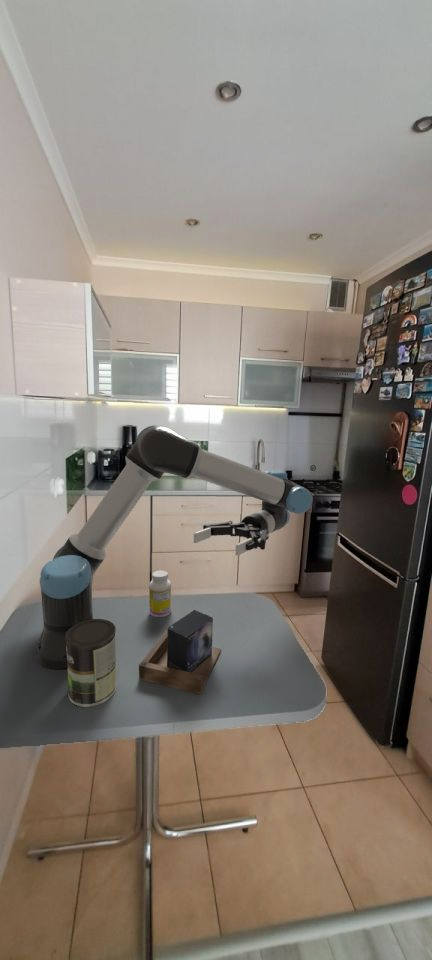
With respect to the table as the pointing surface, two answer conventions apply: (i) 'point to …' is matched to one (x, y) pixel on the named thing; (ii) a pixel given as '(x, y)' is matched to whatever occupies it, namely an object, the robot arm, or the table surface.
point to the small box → (189, 641)
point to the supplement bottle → (160, 594)
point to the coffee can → (91, 662)
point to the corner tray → (159, 673)
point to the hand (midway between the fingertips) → (214, 543)
